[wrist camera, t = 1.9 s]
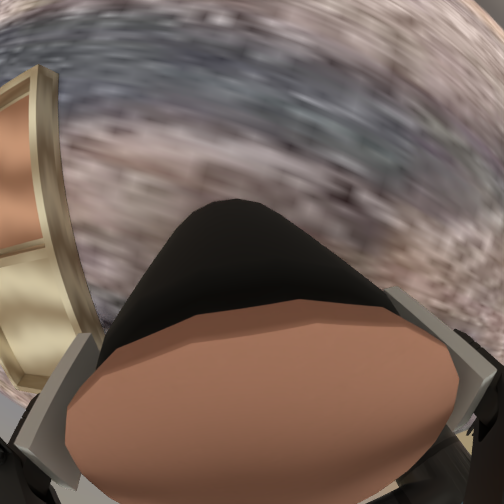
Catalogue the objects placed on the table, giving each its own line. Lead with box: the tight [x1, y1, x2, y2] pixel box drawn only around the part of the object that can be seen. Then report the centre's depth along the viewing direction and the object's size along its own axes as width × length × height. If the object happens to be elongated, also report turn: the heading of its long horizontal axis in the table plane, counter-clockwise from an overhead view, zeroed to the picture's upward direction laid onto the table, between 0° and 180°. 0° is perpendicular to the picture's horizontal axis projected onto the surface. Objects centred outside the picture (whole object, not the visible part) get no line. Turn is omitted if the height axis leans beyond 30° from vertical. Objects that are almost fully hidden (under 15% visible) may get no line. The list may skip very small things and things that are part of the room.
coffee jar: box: [65, 199, 459, 504], centre depth 14 cm, size 11×11×18 cm
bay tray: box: [0, 64, 105, 394], centre depth 18 cm, size 30×16×4 cm, turn 7°
